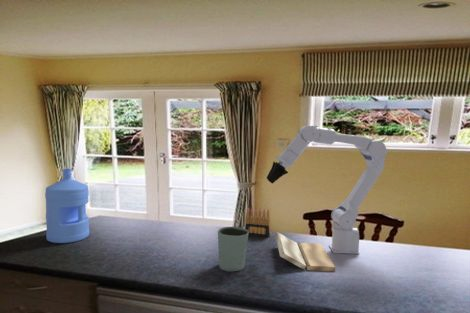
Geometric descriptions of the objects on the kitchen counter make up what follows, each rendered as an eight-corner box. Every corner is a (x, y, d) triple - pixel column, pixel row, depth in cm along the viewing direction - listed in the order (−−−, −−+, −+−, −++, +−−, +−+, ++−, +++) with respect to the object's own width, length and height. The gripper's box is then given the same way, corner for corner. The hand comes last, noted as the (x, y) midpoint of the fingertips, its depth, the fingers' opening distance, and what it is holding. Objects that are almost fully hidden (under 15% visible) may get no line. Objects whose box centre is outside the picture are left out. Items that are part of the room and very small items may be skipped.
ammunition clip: (269, 236, 143) (270, 208, 142) (269, 237, 142) (270, 209, 141) (245, 233, 146) (246, 206, 145) (244, 235, 144) (245, 207, 143)
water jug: (36, 241, 131) (34, 170, 129) (67, 229, 146) (66, 166, 144) (69, 246, 126) (67, 172, 124) (97, 233, 141) (96, 168, 139)
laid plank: (320, 247, 131) (320, 243, 131) (334, 271, 109) (335, 266, 109) (297, 246, 131) (297, 242, 131) (307, 270, 109) (307, 265, 109)
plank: (294, 246, 131) (297, 242, 131) (304, 269, 109) (306, 265, 109) (275, 235, 131) (277, 231, 131) (280, 256, 109) (282, 252, 109)
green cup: (213, 262, 114) (213, 228, 113) (240, 258, 118) (240, 225, 117) (223, 274, 105) (224, 237, 104) (252, 269, 109) (253, 233, 108)
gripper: (281, 145, 132) (259, 172, 132) (286, 145, 117) (261, 175, 118) (295, 157, 132) (273, 183, 132) (301, 158, 117) (277, 188, 118)
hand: (269, 180), depth 125 cm, fingers open, 7 cm apart
